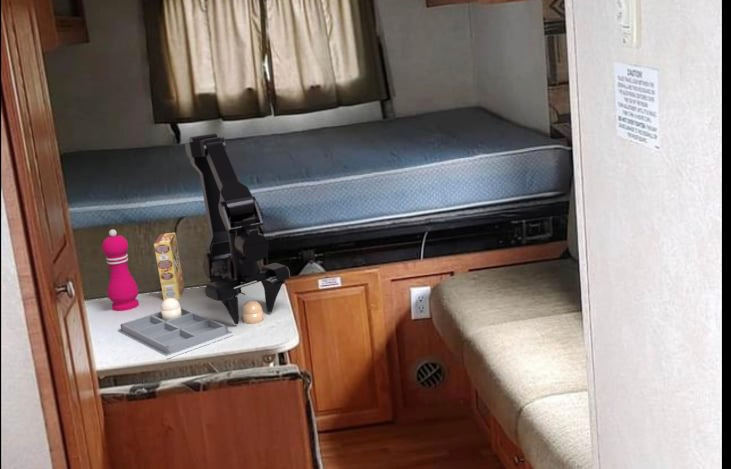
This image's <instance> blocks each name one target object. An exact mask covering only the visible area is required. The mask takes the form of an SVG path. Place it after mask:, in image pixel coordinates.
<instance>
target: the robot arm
mask: <svg viewBox="0 0 731 469" xmlns="http://www.w3.org/2000/svg"><path fill="white" fill-rule="evenodd" d="M184 144H185V146H184V147H185V153H186V156H187V158H189V161H190V164H191V165H192V167H193V168H194V169H195V170H196V171H197V172H198V174H199V178H200V185H201V190H202V196H203V201H204V206H205V212H206V218H207V223H208V230H209V235H208V239H207V241H206V244H205V252H206V253H205V254H204V258H203V265H202V267H203V271H204V275H205V276H206V277H207V278H208V279H209V280H210V281H209V282H208V283H207V284H206V285H205V288H204V291H205V292H204V293H205V296H206V297H208V298H210V299H212V300H216V301H218V302H219V301H220V302H221V303H222V304H223V305H224V307H225V309H226V310H227V312H228V314H229V315H230V318H231V319H232V321H233V323H234V324H235V325H239V323H240V321H239V320H240V315H239V313H240V312H239V301H238V298H239V297H238V295H239V294H241V295H244V296H246V293H244V292H242V288H244V287H247V286H251V285H254V284H257V283H261V285H262V287H263V289H264V290H263V291H264V298H265V299H264V300H265V307H266V311H267V313H270V314H271V313H272V312H273V309H274V305H275V303H276V301H277V297H278V295H279V293H280V290H281V289H282V286H283V285H284V284H285V283H286V280H289V279H290V278H291V273H290V269H289V267H288V266H286V265H284V264H281V263H277V262H273V263H270V264H269V263H268V264H265V265H263V266H261V268H260V261H262V260H263V259H265V258H266V256H267V255H268V253H269V251H270V243H269V241H268V239H267V238H266V237H265V236H263V235H262V234H261V233H259V230H258V226H263V225H264V221H263V220H264V214H263V211H262V209H261V206H260V204H259V202H258V200H257V199H256V197H255V196H254V195H253V194H252V192H251V190H250V189H249V187H248V186H247V185H245V184H243V183H242V182H240V180H239V178H238V175H237V174H236V171H235V169H234V167H233V165H232V161H231V160H230V156H229V155H228V150H227V145H226V139H225V136H218V135H217V133H215V132H213V133H208V134H207V133H206V134H202V135H201V134H200V135H196V136H194V135H193V136H190V137H189V138H188V141H187V142H185V143H184Z"/></svg>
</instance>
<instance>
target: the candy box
mask: <svg viewBox="0 0 731 469" xmlns="http://www.w3.org/2000/svg"><path fill="white" fill-rule="evenodd" d="M176 234H177V233H176V232H168V233H167V232H166V233H161V234H160V233H159V236H158V237H157V239H156V240H155V242H154V243H153V246H154V253H155V259H156V265H157V270H158V275H159V281H160V286H161V288H160V289H161V294H162V298H163V301H164V300H165V299H167V298H174V299H176V300H180V299H181V297H182V295H183V292H184V290H185V283H184V277H183V271H182V265H181V264H182V263H181V259H180V252H179V248H178V242H177V241H178V240H177V236H176Z"/></svg>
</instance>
